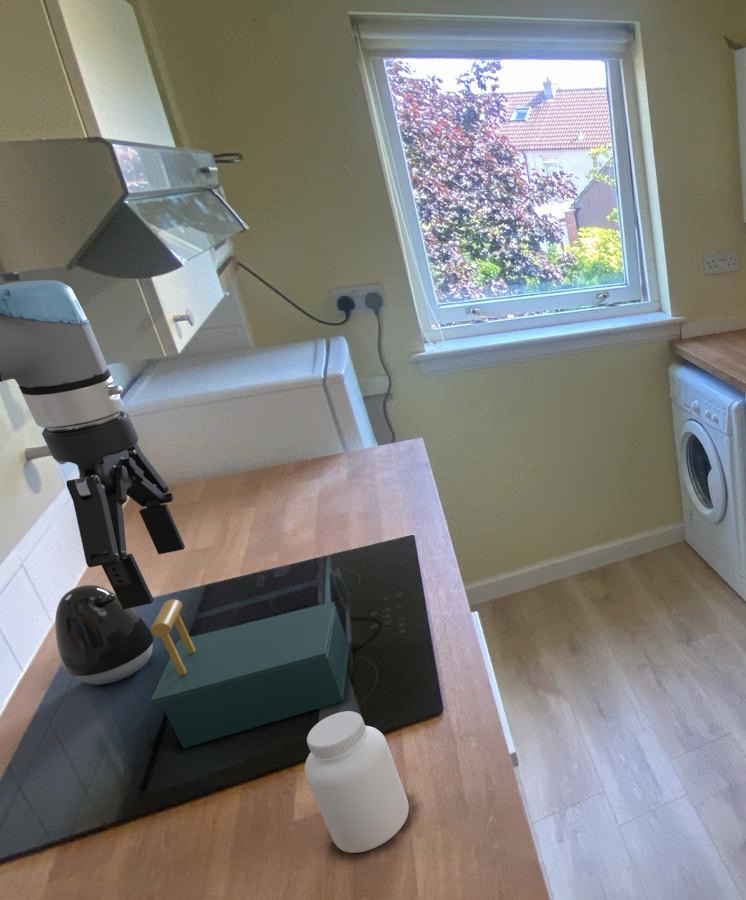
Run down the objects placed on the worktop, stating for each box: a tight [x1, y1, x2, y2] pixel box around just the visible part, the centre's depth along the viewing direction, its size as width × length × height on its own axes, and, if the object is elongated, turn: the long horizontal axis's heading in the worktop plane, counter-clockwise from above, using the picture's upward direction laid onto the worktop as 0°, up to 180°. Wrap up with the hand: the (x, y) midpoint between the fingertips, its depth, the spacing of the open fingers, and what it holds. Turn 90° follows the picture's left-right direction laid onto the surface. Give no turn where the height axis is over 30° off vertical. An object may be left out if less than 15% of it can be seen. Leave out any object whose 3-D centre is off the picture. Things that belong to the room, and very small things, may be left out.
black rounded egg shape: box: [54, 584, 155, 685], centre depth 109 cm, size 10×10×15 cm
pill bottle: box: [304, 710, 410, 854], centre depth 82 cm, size 8×8×15 cm
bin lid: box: [150, 598, 336, 706], centre depth 101 cm, size 19×14×9 cm
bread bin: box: [160, 606, 350, 749], centre depth 105 cm, size 19×14×8 cm
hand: (156, 576), depth 92 cm, fingers open, 13 cm apart
